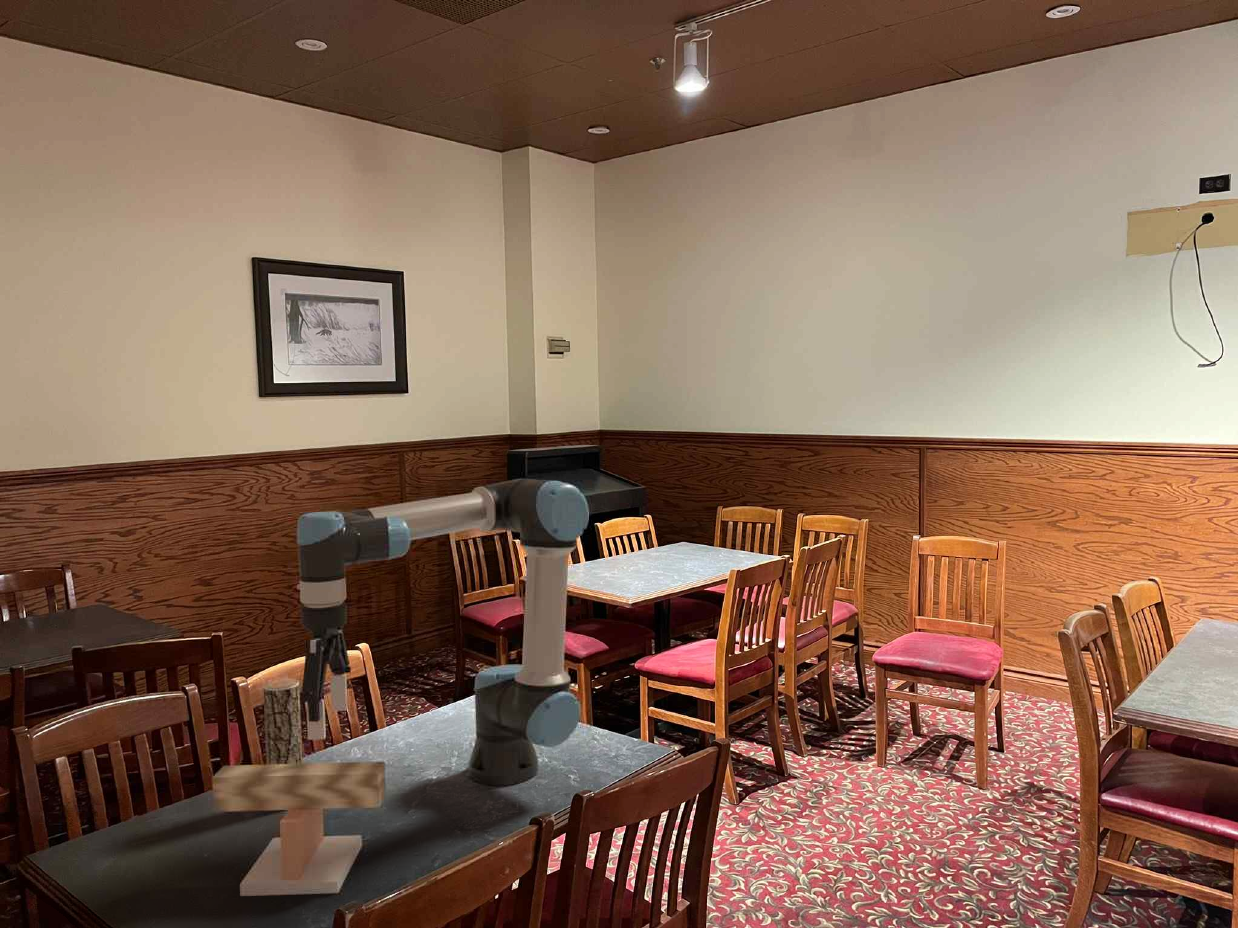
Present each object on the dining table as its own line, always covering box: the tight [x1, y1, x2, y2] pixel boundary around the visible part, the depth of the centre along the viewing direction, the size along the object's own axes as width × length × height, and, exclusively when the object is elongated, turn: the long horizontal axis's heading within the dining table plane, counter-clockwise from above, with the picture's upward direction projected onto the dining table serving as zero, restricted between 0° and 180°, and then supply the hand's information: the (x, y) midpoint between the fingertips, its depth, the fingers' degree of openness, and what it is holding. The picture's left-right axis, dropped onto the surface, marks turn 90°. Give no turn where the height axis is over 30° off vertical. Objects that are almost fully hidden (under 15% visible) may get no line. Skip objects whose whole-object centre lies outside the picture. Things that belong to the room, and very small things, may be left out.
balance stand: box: [239, 809, 363, 897], centre depth 158 cm, size 16×16×12 cm
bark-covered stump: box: [262, 677, 303, 765], centre depth 184 cm, size 7×7×25 cm
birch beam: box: [211, 761, 387, 813], centre depth 158 cm, size 28×5×6 cm, turn 92°
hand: (328, 723), depth 157 cm, fingers open, 13 cm apart
